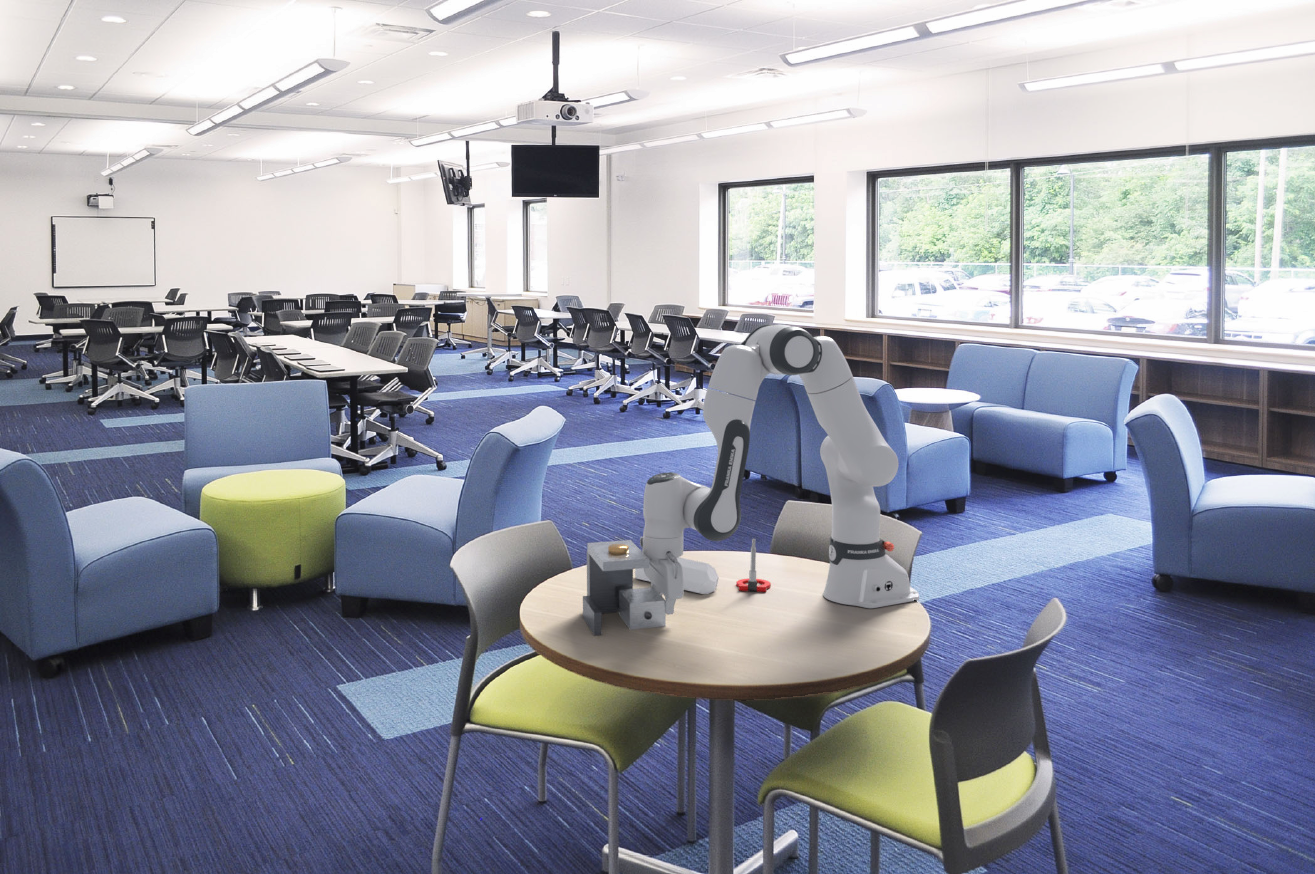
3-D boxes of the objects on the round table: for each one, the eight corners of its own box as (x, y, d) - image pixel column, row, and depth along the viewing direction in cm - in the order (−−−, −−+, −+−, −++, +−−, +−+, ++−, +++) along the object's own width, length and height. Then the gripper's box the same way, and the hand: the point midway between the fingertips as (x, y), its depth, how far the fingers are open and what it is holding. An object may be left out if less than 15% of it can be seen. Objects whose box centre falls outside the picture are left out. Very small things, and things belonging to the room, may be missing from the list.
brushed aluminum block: (653, 612, 240) (653, 587, 239) (666, 627, 230) (666, 601, 230) (619, 615, 238) (619, 590, 237) (630, 631, 228) (630, 604, 227)
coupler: (629, 606, 244) (629, 533, 241) (648, 630, 228) (649, 553, 225) (578, 610, 241) (577, 537, 238) (594, 635, 225) (593, 557, 222)
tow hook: (737, 582, 265) (734, 591, 256) (738, 531, 263) (735, 539, 254) (771, 583, 263) (769, 593, 254) (772, 532, 262) (771, 540, 253)
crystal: (624, 565, 264) (702, 583, 249) (639, 546, 268) (717, 563, 253) (633, 587, 268) (711, 606, 253) (648, 568, 272) (726, 585, 257)
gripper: (691, 557, 224) (690, 620, 226) (664, 534, 244) (664, 592, 246) (662, 560, 223) (662, 623, 225) (637, 536, 242) (638, 594, 244)
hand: (663, 606), depth 235 cm, fingers open, 8 cm apart
